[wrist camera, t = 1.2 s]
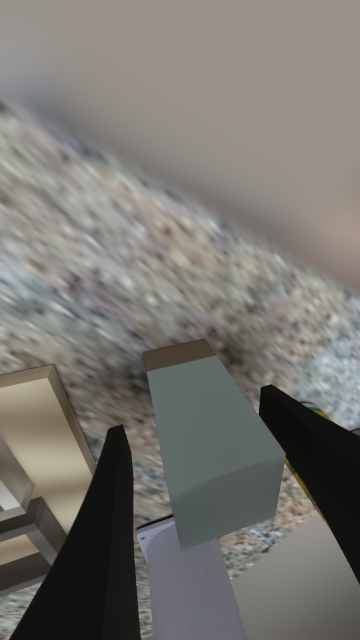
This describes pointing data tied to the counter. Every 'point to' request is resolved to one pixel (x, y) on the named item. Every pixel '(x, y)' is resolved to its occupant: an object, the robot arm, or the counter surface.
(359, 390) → the counter surface
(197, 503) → the banded peg
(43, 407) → the board
